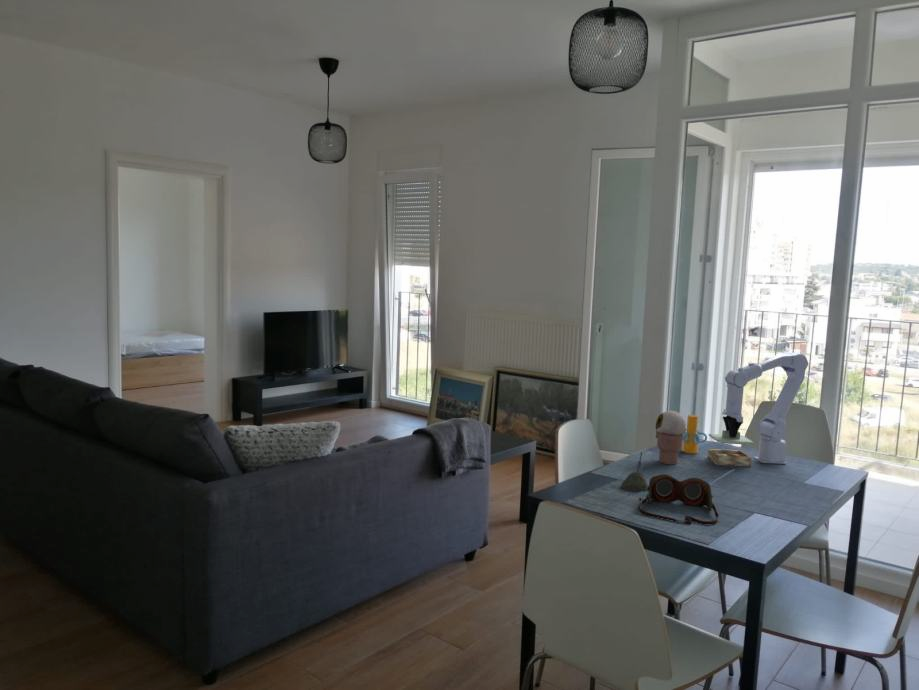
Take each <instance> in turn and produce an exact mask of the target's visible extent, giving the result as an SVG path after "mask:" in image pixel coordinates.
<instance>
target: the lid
mask: <svg viewBox="0 0 919 690" xmlns="http://www.w3.org/2000/svg"><path fill="white" fill-rule="evenodd" d="M708 436H709V438H711V439H713V440H714V441H716V442H717V443H720V444H726V445H743V446H744V445H745V446H746V445H754V441H752V440H751V439H749V437H746V436H744V435H741V432H740V431H738V432H737V435H736V437H730V435H729V431H726V430H724V429H723V430H722V432H721V434H719V433H708Z"/></svg>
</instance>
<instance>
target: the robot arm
mask: <svg viewBox="0 0 919 690" xmlns="http://www.w3.org/2000/svg"><path fill="white" fill-rule="evenodd" d="M808 366H809V361H808V359H807V356H806V355H805V354H803V353H798V352H793V351H792V352H791V351H788V350H783V351H781V352H778V353H776V355H774V356H772V357H770V358H768V359H766V360H764V361H762V362H760V363H757V362H749V363H748V365H745V366H743V367H738V369H737V370H735V369H733V370H729V372H727V374H726V375H725V377H724V379H725V382H726V387H727V390H726V402H725V408H724V409H723V411H722V413H721V414H722V415H724V416H722V419H723V423H724V425H725V431H729V435H730V437H736V435H737V432H739V430H740V428H741V426H742V424H744V417H743V413H742V410H743V400H744V399H743V398H744V397H743V396H744V387H745V386H746V385H747V384H748V383H749V382H751V381H753V380H756V379H757V378H760V377H761V376H762V375H763V373H764V372H767V371H769V370H773V369H775V368H777V367H781V368H782V369H783V371H784V372H785V374H786V377H787V378H786V380H785V383H784V384H783V387H782V388H781V390H780V392H779V395H778V396H777V399H776V401H775V402H774V405H773V407H772V408H771V411H770V412H769V413H767V414H765V415H764V416H763V417H762V419H761V420H760V421H759V422H758V423H757V425H756V431H757V433H758V434H759V435H758V436H759V443H758V444H759V446H758V454H757V456H753V457H754V459H756V460H757V461H758V462H760V463H762V464H776V465H777V464H780V465H781V464H783V465H786V464H787V462H786V456H787V448H788V447H787V443H786V440H784V437H785V435H786V428H787V427H788V424H787V422H786V420H785V418H786V417H787V414H788V412H789V411H790V409H791V406H792V404H793V403H794V400H795V398H796V396H797V394H798V392H799V390H800V388H801V386H802V384H803V382H804V380H805V377H806V370H807V368H808Z"/></svg>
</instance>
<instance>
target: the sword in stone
mask: <svg viewBox="0 0 919 690" xmlns="http://www.w3.org/2000/svg"><path fill="white" fill-rule="evenodd" d="M642 456H643V452H642V451H641V453H640V457H639V460H638V461H637V471H632V472H631V473H629V474H628V475H627V477H626V478H625V479H624V480H623V481H622V483H621V485H620V487H619V488H620V489H622V490H624V491H626V492H636V493H641V491H643V492H647V488H648V486H649V485H648V483H647V482H646V478H645V476H644V475H643V473H642V472H641V471H639V469H641V466H642V465H641V464H642V462H641V461H642Z"/></svg>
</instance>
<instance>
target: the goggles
mask: <svg viewBox="0 0 919 690" xmlns="http://www.w3.org/2000/svg"><path fill="white" fill-rule="evenodd" d="M647 486H648V488H647V490H646V492H648V493H646V495H645V496H646V497H645V498H644V499H643V498H642V497H639V499H638V501H639V503H638V504H637V510H638V512H640V514H642V513H643V514H642V515H644V514H646V515H645V516H647V515H649V516H648V517H651V516H654V517H653V518H655V517H659V518H658V519H660V518H663V519H662V520H664V519H669V520H673V521H672V522H674V521H677V522H676V523H679V522H681V523H680V524H684V523H686V525H692V524H691V523H696V522H697V524H700V523H701V525H705V524H712V525H715V523H716V524H717V523H718V518H719V513H718V511H717V508H716V506H715V504H714V503H715V502H713V497H714V496H713V494H712V488H711V485H710V483H708V482H707V481H705V480H703V479H701V478H699V477H689V478H687V479H683V480H678V479H676V478H675V477H673V476H672V475H669V474H665V473H663V474H662V473H661V474H658V475H654V476H652V477H651V478H650V479H649V482H648V485H647ZM651 501H654V502H660V501H661V503H668V502H669V504H670V503H673V502H676V501H679V502H681V503H682V504H684V505H687V506H692V507H693V506H695V507H707V511H708V512H712V510H713V511H714V514H715V515H714V516H715V519H714V520H704V519H703V520H702V519H700V518H699V519H698V518H696V517H692V516H690V515H685V516H684V519H679V518H678V519H677V518H674V517H671V516H669V517H668V516H665V515H660V514H656V513H653V512H649V511H647V510H644V509H642V506H643V505H644V504H646V502H647V504H648V505H650V504H651ZM669 520H668V521H669ZM693 521H694V522H693Z"/></svg>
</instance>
